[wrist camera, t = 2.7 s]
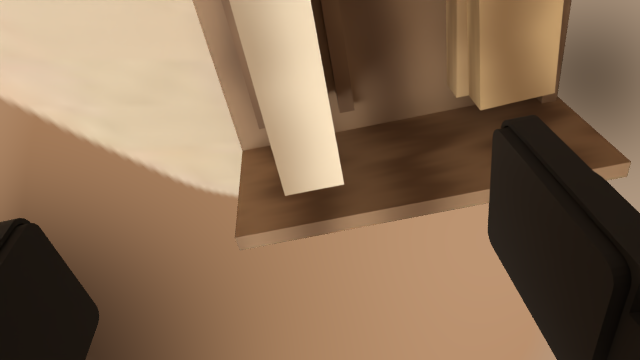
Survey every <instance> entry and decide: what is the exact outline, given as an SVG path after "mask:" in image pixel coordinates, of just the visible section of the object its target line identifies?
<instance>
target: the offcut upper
mask: <svg viewBox="0 0 640 360" xmlns="http://www.w3.org/2000/svg"><path fill="white" fill-rule="evenodd" d="M563 3H564V0H467V37H468V76H469V96H470V98H471V99H472V100H473V102H474V103H475V104H476V105H477V107H478V108H479V109H480V110H484V109H488V108H493V107H497V106H501V105H506V104H510V103H514V102H518V101H523V100H527V99H531V98H536V97H540V96H544V95H548V94H553V93H555V85H556V74H557V64H558V54H559V44H560V34H561V24H562V13H563Z"/></svg>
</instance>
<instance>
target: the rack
mask: <svg viewBox="0 0 640 360" xmlns="http://www.w3.org/2000/svg"><path fill="white" fill-rule="evenodd" d="M193 3H194V6H195V9H196V12H197V15H198V18H199V21H200V24H201V27H202V30H203V33H204V36H205V39H206V42H207V45H208V48H209V51H210V54H211V57H212V60H213V63H214V66H215V69H216V72H217V75H218V78H219V81H220V84H221V87H222V90H223V93H224V96H225V99H226V102H227V105H228V108H229V111H230V114H231V117H232V120H233V123H234V126H235V129H236V132H237V135H238V138H239V141H240V144H241V148H242V151H243V152H242V164H241V175H240V186H239V197H238V209H237V220H236V231H235V239H236V242H237V244H238V247H239V249H240V250H244V249H249V248H254V247H260V246H265V245H270V244H276V243H281V242H286V241H292V240H297V239H302V238H307V237H312V236H318V235H322V234H328V233H333V232H339V231H343V230H349V229H354V228H360V227H365V226H370V225H376V224H381V223H386V222H391V221H396V220H402V219H407V218H412V217H418V216H423V215H428V214H433V213H438V212H444V211H449V210H454V209H460V208H464V207H470V206H475V205H480V204H486V203H489V196H490V177H491V158H492V138H493V132H494V131H495V130H496V129H501V125H502V123H503V121H505V120H508V119H513V118H518V117H523V116H528V115H536V116H538V117H539V118H540V119H541V120H542V121H543V122H544V123H545V124H546V125H547V126H548V127H549V128H550V129H551V130H552V131H553V132H554V133H555V134H556V135H557V136H558V137H559V138H560V139H561V140H562V141H563V142H564V143H565V144H566V145H568V146H569V147H570V148H571V149H572V150H573V151H574V152H575V153H576V154H577V155H578V156H579V157H580V158H581V159H582V160H583V161H584V162H585V163H586V164H587V165H588V166H589V167H590V168H591V169H592V170H593V171H594V172H596V173H597V174H599V175H600V176H602V177H603V178H604V179H605V180H612V179H617V178H622V177H627V175H628V172H629V168H630V164H631V161H630V160H628V159H627V158H626V157H625V156H624V155H623V154H622V153H621V152H619V151H618V150H617V149H616V148H615V147H614V146H613V145H612V144H610V143H609V142H608V141H607V140H606V139H605V138H603V136H601V135H600V134H599V133H598V132H597V131H596V130H595V129H593V128H592V127H591V126H590V125H589V124H588V123H587V122H586V121H584V120H583V119H582V118H581V117H580V116H579V115H578V114H577V113H575V112H574V111H573V110H572V109H571V108H570V107H569V106H567V105H566V104H565V103H564V102H563V101H562V100H561V99H560V98H559V97H557V94H558V87H559V81H560V74H561V66H562V61H563V53H564V46H565V40H566V33H567V25H568V20H569V13H570V6H571V0H564V3H563V13H562V24H561V34H560V44H559V54H558V64H557V74H556V85H555V93H553V94H548V95H544V96H540V97H536V98H531V99H527V100H523V101H518V102H514V103H510V104H506V105H501V106H497V107H493V108H488V109H484V110H480V109H479V108H478V107H477V105H476V104H475V103H474V102H473V100H472V99H471V98H470V96H469V95H468V96H463V97H458V98H456V96H455V95H454V94H453V92H452V91H451V89H450V88H449V87H448V85H447V43H446V0H311V6H312V11H313V17H314V22H315V28H316V33H317V39H318V44H319V49H320V55H321V60H322V66H323V71H324V77H325V82H326V88H327V93H328V99H329V104H330V110H331V115H332V121H333V126H334V132H335V137H336V143H337V148H338V153H339V159H340V164H341V170H342V175H343V181H344V185H339V186H333V187H328V188H323V189H318V190H313V191H308V192H302V193H297V194H292V195H287V196H285V194H284V190H283V187H282V183H281V180H280V176H279V173H278V170H277V166H276V163H275V159H274V156H273V152H272V149H271V145H270V142H269V138H268V135H267V131H266V128H265V124H264V121H263V117H262V114H261V110H260V107H259V103H258V100H257V96H256V93H255V89H254V86H253V82H252V79H251V75H250V72H249V68H248V65H247V61H246V58H245V54H244V51H243V47H242V44H241V40H240V37H239V33H238V30H237V26H236V23H235V19H234V16H233V12H232V9H231V5H230V2H229V0H193Z"/></svg>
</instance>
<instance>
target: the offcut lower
mask: <svg viewBox="0 0 640 360" xmlns="http://www.w3.org/2000/svg"><path fill="white" fill-rule="evenodd" d="M446 43H447V85H448V87H449V88H450V89H451V91H452V92H453V94H454V95H455V96H456V98H458V97H463V96H468V95H469V76H468V37H467V0H446Z"/></svg>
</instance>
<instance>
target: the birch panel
mask: <svg viewBox="0 0 640 360" xmlns="http://www.w3.org/2000/svg"><path fill="white" fill-rule="evenodd" d="M229 2H230V5H231V9H232V12H233V16H234V19H235V23H236V26H237V30H238V33H239V37H240V40H241V44H242V47H243V51H244V54H245V58H246V61H247V65H248V68H249V72H250V75H251V79H252V82H253V86H254V89H255V93H256V96H257V100H258V103H259V107H260V110H261V114H262V117H263V121H264V124H265V128H266V131H267V135H268V138H269V142H270V145H271V149H272V152H273V156H274V159H275V163H276V166H277V170H278V173H279V176H280V180H281V183H282V187H283V190H284V194H285V196H287V195H292V194H297V193H302V192H308V191H313V190H318V189H323V188H328V187H333V186H339V185H344V181H343V175H342V170H341V164H340V159H339V153H338V148H337V143H336V137H335V132H334V126H333V121H332V115H331V110H330V104H329V99H328V93H327V88H326V82H325V77H324V71H323V66H322V60H321V55H320V49H319V44H318V39H317V33H316V28H315V22H314V17H313V11H312V6H311V0H229Z"/></svg>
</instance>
